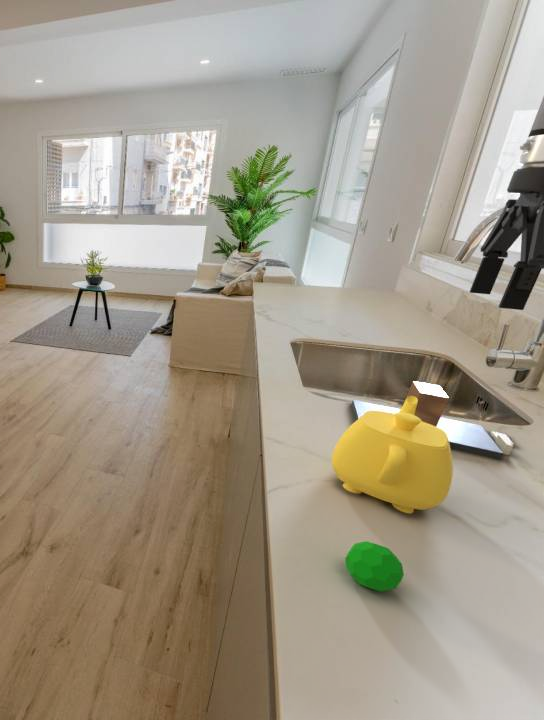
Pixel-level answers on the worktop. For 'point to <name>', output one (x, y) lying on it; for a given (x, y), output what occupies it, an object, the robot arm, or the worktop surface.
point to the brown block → (428, 401)
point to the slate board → (447, 432)
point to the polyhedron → (374, 566)
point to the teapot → (395, 459)
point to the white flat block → (495, 434)
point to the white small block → (503, 444)
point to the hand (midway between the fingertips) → (493, 300)
